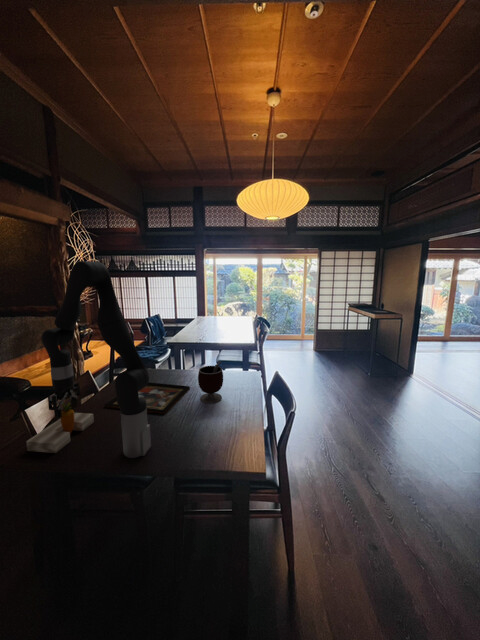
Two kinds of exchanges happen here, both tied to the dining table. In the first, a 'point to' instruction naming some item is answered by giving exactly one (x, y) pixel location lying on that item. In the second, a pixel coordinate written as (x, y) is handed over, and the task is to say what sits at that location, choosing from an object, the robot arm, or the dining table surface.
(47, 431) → the notched board
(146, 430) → the robot arm
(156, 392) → the framed painting
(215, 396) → the mate gourd
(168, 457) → the dining table surface
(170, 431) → the dining table surface
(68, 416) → the carrot
